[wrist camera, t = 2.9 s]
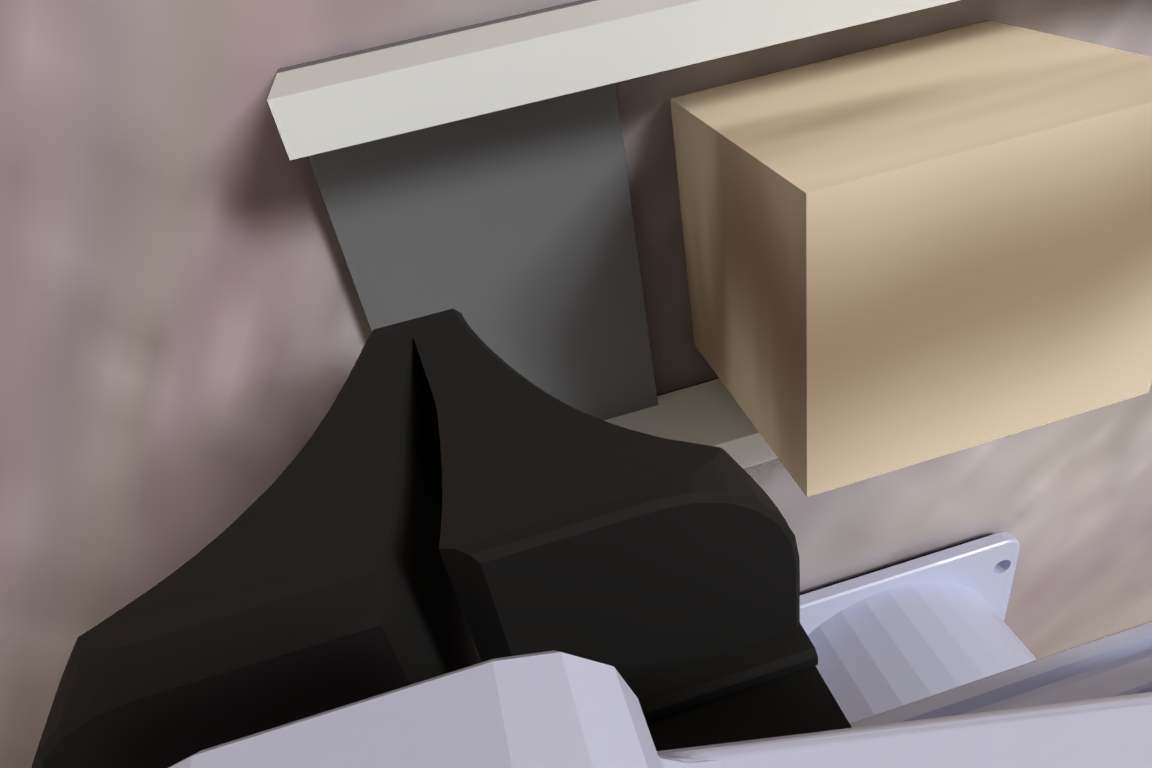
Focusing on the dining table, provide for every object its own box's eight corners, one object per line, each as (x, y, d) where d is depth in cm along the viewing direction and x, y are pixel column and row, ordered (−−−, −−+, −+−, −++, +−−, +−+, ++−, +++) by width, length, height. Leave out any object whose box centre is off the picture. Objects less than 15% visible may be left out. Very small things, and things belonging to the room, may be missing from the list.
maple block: (955, 268, 17) (1148, 392, 13) (693, 341, 16) (807, 497, 12) (985, 18, 14) (1243, 77, 10) (668, 97, 14) (807, 193, 9)
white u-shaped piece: (1223, 264, 19) (1307, 302, 17) (432, 490, 17) (441, 557, 15) (1369, -178, 14) (1507, -186, 12) (278, 69, 12) (266, 99, 10)
